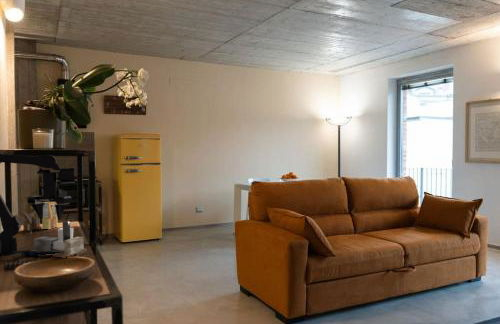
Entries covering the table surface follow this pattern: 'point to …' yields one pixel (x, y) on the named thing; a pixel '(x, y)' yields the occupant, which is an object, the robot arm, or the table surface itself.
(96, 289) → the table surface
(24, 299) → the table surface
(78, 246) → the base
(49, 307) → the table surface
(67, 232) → the dark knobbed lever handle
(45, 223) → the candy box
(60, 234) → the shot glass
